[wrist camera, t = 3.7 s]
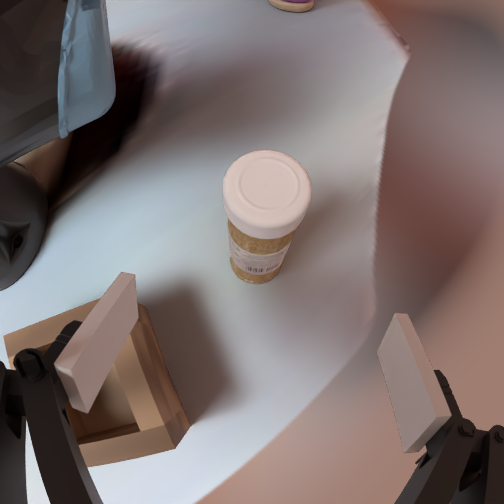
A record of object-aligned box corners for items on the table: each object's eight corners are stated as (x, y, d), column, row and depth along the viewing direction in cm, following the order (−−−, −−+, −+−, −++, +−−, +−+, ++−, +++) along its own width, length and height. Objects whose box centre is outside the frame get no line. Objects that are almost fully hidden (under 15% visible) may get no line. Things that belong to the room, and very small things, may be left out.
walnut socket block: (47, 342, 25) (3, 335, 18) (145, 307, 27) (117, 291, 20) (85, 451, 22) (47, 472, 16) (190, 425, 24) (175, 448, 17)
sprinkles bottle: (284, 240, 29) (317, 155, 16) (277, 289, 28) (309, 233, 15) (234, 231, 29) (231, 140, 16) (224, 280, 28) (212, 216, 15)
